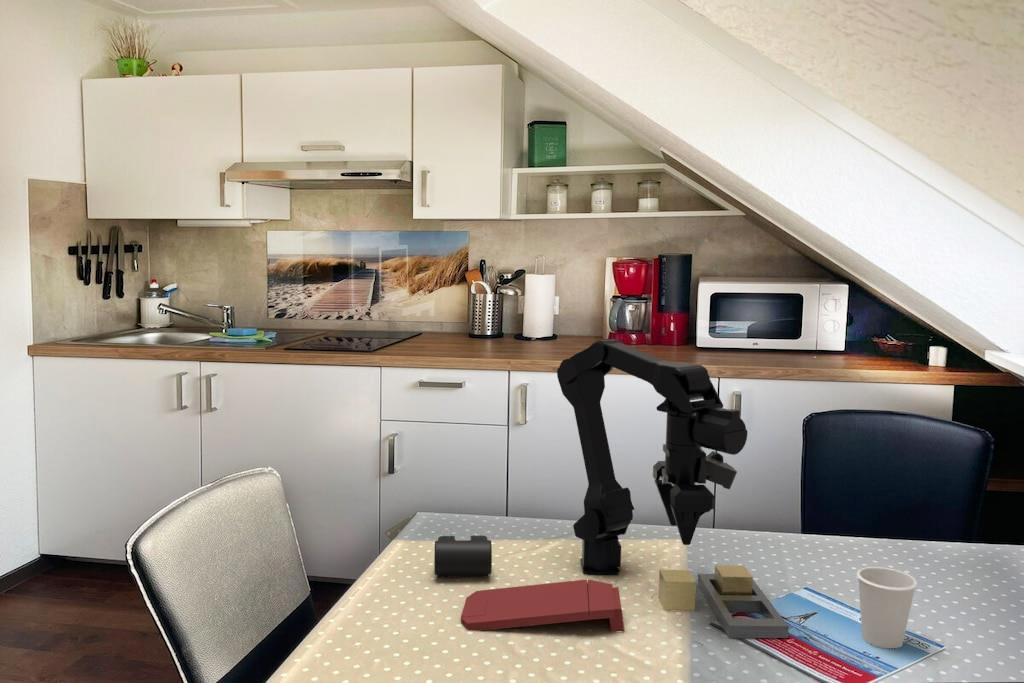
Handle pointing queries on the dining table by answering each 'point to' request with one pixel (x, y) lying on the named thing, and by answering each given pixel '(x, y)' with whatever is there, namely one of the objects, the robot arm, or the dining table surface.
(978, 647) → the dining table surface
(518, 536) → the dining table surface
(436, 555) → the end cap
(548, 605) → the red ramp
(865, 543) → the dining table surface
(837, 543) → the dining table surface
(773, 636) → the grey slotted tray
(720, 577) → the tan block seated
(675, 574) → the wooden cube
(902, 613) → the dixie cup
